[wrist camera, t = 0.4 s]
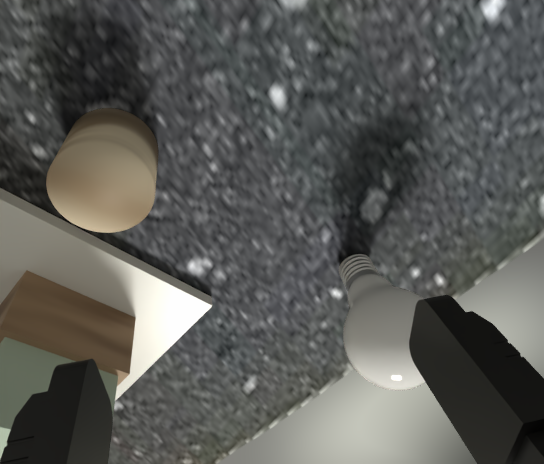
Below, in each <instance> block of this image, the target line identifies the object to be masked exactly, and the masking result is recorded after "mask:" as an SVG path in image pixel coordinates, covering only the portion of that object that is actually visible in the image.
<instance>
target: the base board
mask: <svg viewBox="0 0 544 464" xmlns="http://www.w3.org/2000/svg"><path fill="white" fill-rule="evenodd" d="M26 270H27V271H30V272H32V273H34V274H37V275H39V276H41V277H43V278H46V279H48V280H50V281H53V282H55V283H57V284H60V285H62V286H64V287H66V288H69V289H71V290H73V291H76V292H78V293H80V294H83V295H85V296H87V297H89V298H92V299H94V300H96V301H99V302H101V303H103V304H106V305H108V306H110V307H112V308H115V309H117V310H119V311H122V312H124V313H126V314H129V315H131V316H133V317H135V318H136V320H135V329H134V339H133V348H132V357H131V366H130V374H129V375H128V376H127V377H126V378H125V379H124V380H123V381H122V382H121V383H120V384H119V385H118V386H117V389H116V397H115V401H116V400H117V399H118V398H119V397H120V396H121V395H122V394H123V393H124V392H125V391H126V390H127V389H128V388H129V387H130V386H131V385H132V384H133V383H134V382H135V381H136V380H137V379H138V378H139V377H140V376H141V375H142V374H143V373H144V372H145V371H146V370H147V369H148V368H149V367H150V366H151V365H152V364H153V363H154V362H156V361H157V360H158V359H159V358H160V357H161V356H162V355H163V354H164V353H165V352H166V351H167V350H168V349H169V348H170V347H171V346H172V345H173V344H174V343H175V342H176V341H177V340H178V339H179V338H180V337H181V336H182V335H183V334H184V333H185V332H186V331H187V330H188V329H189V328H190V327H191V326H192V325H193V324H194V323H195V322H196V321H197V320H198V319H199V318H200V317H201V316H202V315H203V314H205V313H206V312H207V311H208V310H209V309H210V308H211V307H212V297H211V296H209V295H207V294H205V293H203V292H201V291H199V290H197V289H195V288H193V287H192V286H190V285H188V284H186V283H184V282H182V281H180V280H178V279H176V278H174V277H172V276H170V275H168V274H166V273H164V272H162V271H161V270H159V269H157V268H155V267H153V266H151V265H149V264H147V263H145V262H143V261H141V260H139V259H137V258H135V257H133V256H131V255H129V254H128V253H126V252H124V251H122V250H120V249H118V248H116V247H114V246H112V245H110V244H108V243H106V242H104V241H102V240H100V239H98V238H97V237H95V236H93V235H91V234H89V233H87V232H85V231H83V230H81V229H79V228H77V227H75V226H73V225H71V224H69V223H67V222H66V221H64V220H62V219H60V218H58V217H56V216H54V215H52V214H50V213H48V212H46V211H44V210H42V209H40V208H38V207H36V206H35V205H33V204H31V203H29V202H27V201H25V200H23V199H21V198H19V197H17V196H15V195H13V194H11V193H9V192H7V191H5V190H4V189H2V188H0V304H1V303H2V302H3V300H4V299H5V298H6V297H7V295H8V294H9V293H10V291H11V290H12V289H13V287H14V286H15V285H16V283H17V282H18V281H19V279H20V278H21V277H22V276H23V274H24V273H25V272H26Z"/></svg>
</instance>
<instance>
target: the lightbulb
mask: <svg viewBox="0 0 544 464" xmlns="http://www.w3.org/2000/svg"><path fill="white" fill-rule="evenodd" d="M339 275H340V277H341V279H342V281H343V283H344V285H345V287H346V289H347V292H348V304H349V311H348V314H347V317H346V320H345V324H344V329H343V342H344V347H345V351H346V354H347V356H348V359H349V361H350V362H351V364H352V366H353V367H354V368H355V370H356V371H357V372H358V373H359V374H360V375H361V376H362V377H363V378H364V379H366V380H367V381H369V382H370V383H372V384H374V385H376V386H378V387H381V388H384V389H388V390H398V391H399V390H409V389H412V388H416V387H418V386H421V385H422V384H424V383H426V382H425V380H424V379H423V377H422V376H421V374H420V372H419V371H418V369H417V368H416V366H415V364H414V362H413V360H412V357H411V354H410V349H409V339H410V334H411V328H412V323H413V318H414V312H415V307H416V303H417V302H418V301H419V300H422V299H424V298H422V297H421V296H419V295H417V294H416V293H413V292H411V291H409V290H406V289H402V288H399V287H395V286H393V285H392V284H391V283H390V282H389V281H388V280H387V279H385V278H384V277H382V276H380V274H379V273H378V271H377V270H376V268H375V266H374V264H373V263H372V261H371V260H370V258H369V257H368V256H366V255H364V254H354V255H351V256H349V257H347V258H346V259H345V260H344V261H343V262H342V263H341V264H340V266H339Z"/></svg>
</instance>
